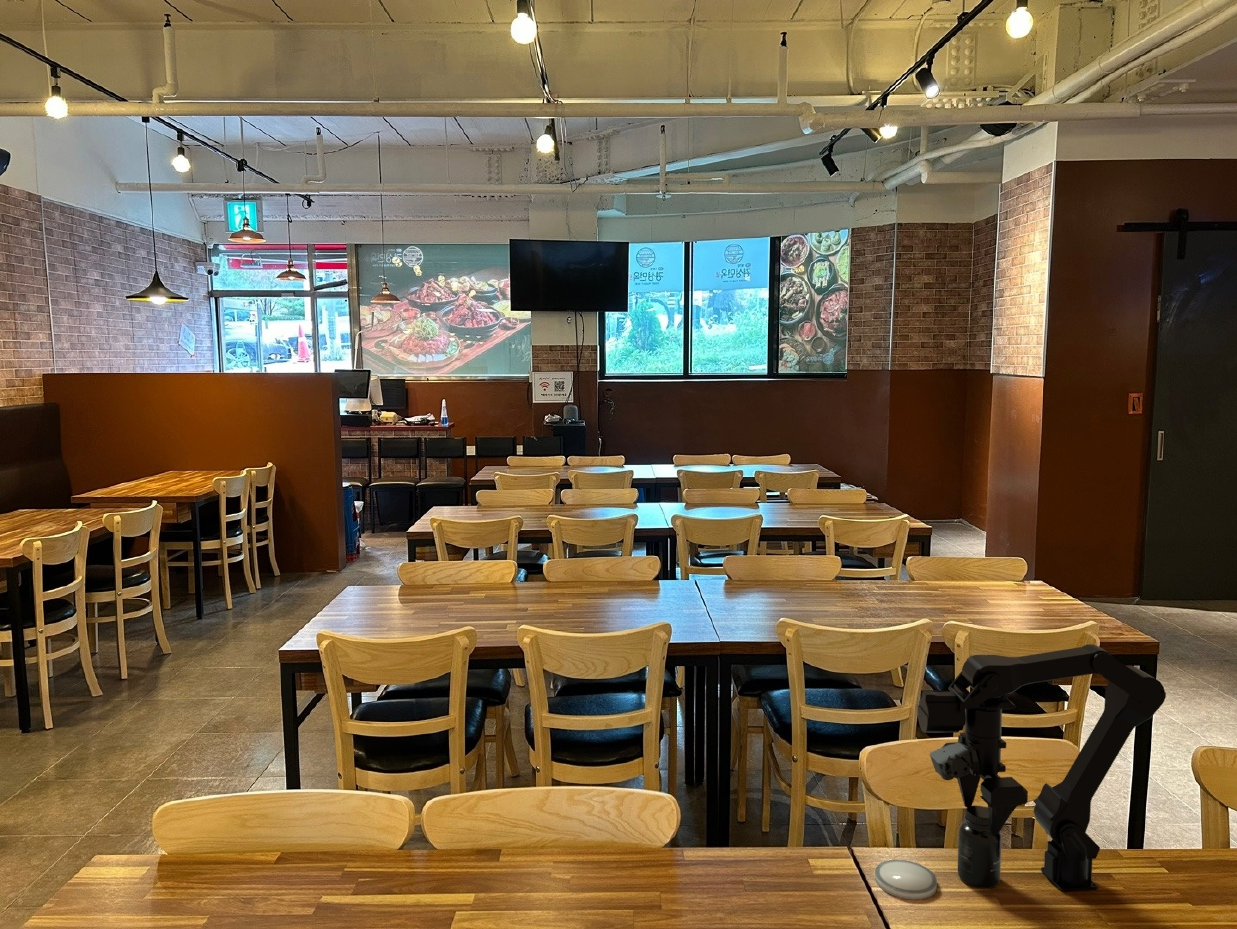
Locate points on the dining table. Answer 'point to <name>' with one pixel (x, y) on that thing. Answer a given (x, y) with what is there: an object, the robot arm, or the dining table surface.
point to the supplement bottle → (979, 849)
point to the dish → (905, 879)
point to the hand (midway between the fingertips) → (980, 820)
